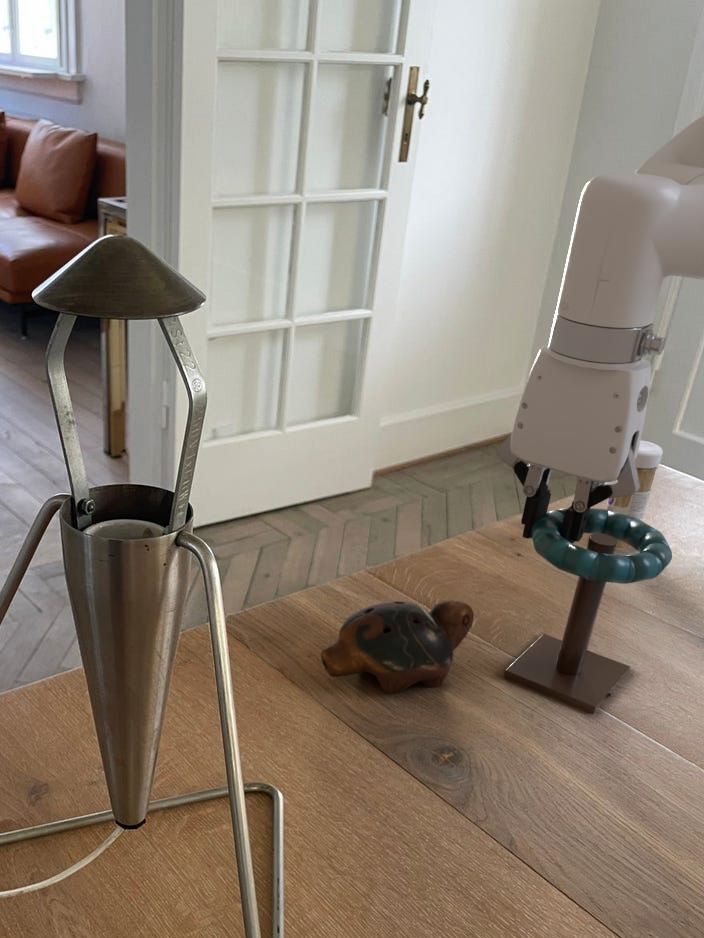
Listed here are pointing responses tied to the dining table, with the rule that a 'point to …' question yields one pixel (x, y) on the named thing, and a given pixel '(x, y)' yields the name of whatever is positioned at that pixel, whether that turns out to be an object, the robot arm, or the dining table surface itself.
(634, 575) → the ring
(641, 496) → the sprinkles bottle
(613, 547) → the post
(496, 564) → the dining table surface
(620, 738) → the dining table surface
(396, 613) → the decorative turtle
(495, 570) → the dining table surface
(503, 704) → the dining table surface
